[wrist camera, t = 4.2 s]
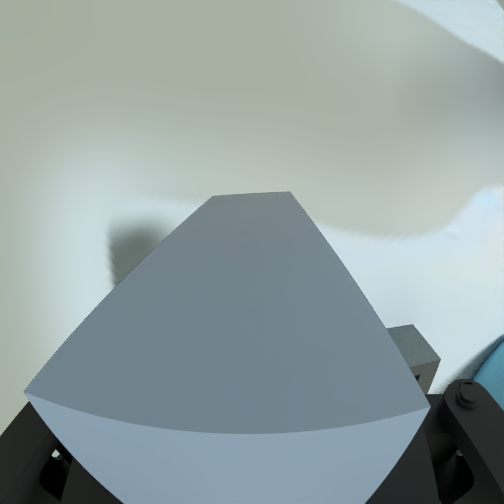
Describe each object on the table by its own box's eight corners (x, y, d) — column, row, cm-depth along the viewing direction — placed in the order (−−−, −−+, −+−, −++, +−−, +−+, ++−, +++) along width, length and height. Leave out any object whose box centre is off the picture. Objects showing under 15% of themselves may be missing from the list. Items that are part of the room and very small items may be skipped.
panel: (212, 196, 11) (23, 391, 1) (289, 191, 11) (430, 406, 1) (231, 358, 14) (204, 555, 4) (291, 356, 13) (310, 555, 4)
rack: (323, 336, 20) (361, 456, 10) (412, 324, 20) (481, 414, 10) (305, 473, 27) (312, 543, 17) (363, 464, 27) (380, 528, 16)
